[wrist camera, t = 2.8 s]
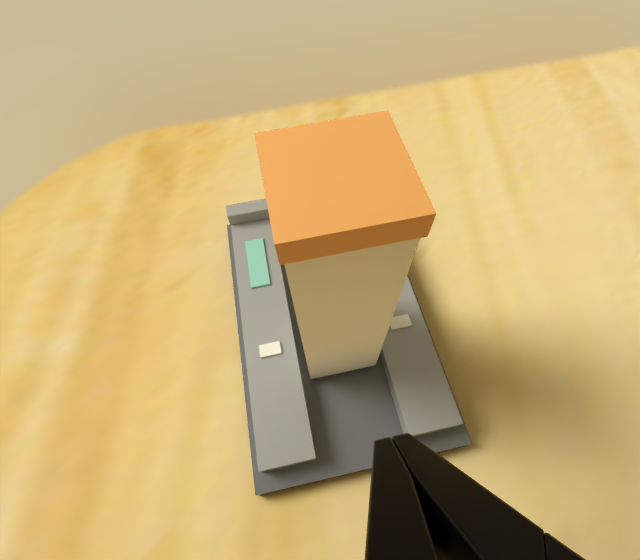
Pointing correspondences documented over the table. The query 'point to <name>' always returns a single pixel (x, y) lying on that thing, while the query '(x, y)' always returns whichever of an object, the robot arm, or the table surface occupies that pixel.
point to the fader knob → (343, 231)
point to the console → (329, 391)
